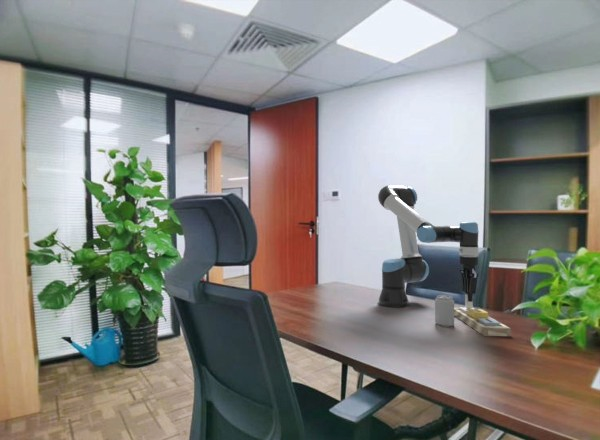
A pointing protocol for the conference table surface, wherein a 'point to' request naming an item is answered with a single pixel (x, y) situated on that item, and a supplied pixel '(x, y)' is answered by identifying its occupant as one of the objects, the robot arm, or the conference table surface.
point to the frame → (482, 329)
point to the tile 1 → (464, 310)
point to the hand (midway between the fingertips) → (468, 308)
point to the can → (444, 310)
